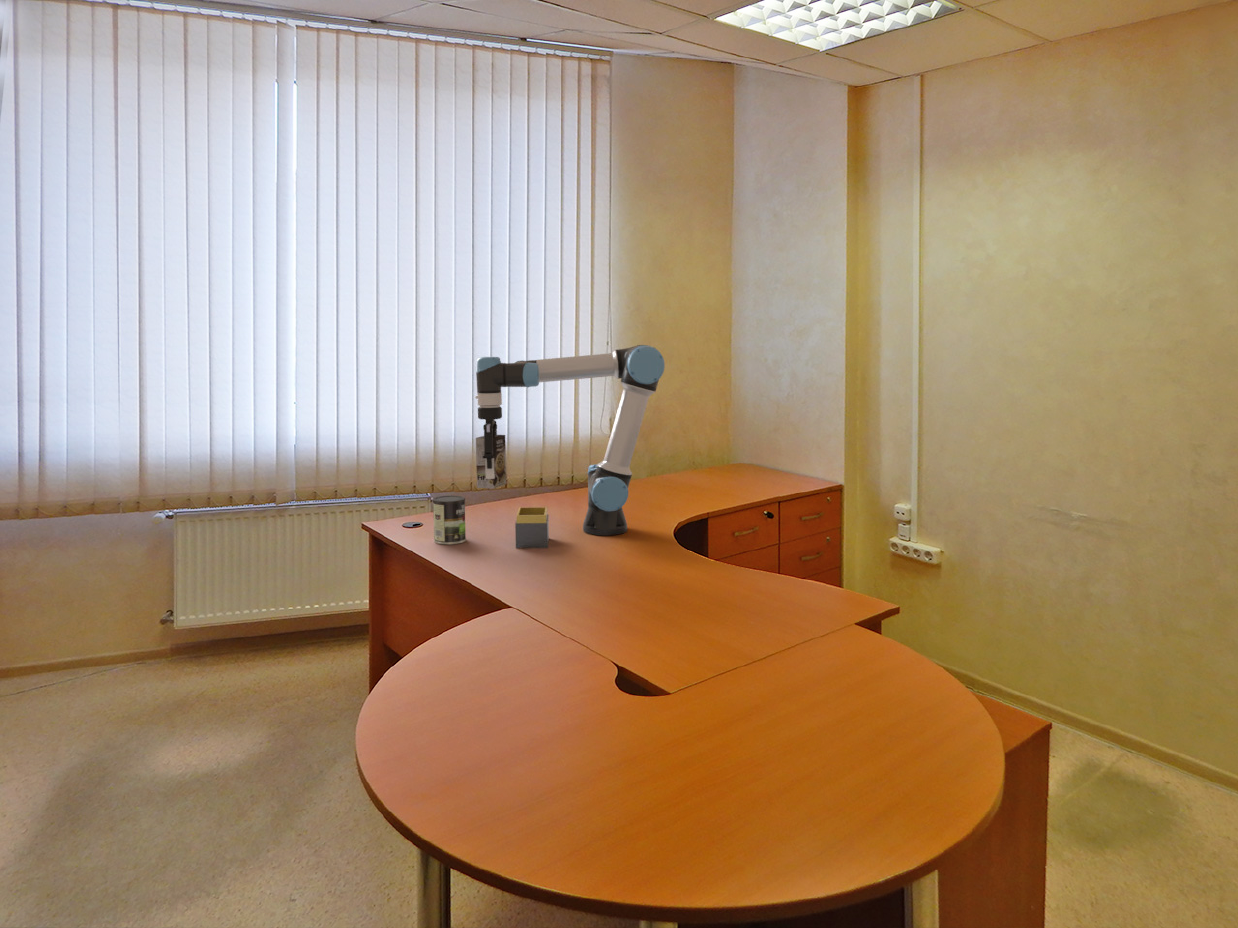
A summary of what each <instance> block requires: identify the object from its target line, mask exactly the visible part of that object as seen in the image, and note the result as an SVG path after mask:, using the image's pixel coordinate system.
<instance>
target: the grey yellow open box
mask: <svg viewBox="0 0 1238 928" xmlns="http://www.w3.org/2000/svg"><path fill="white" fill-rule="evenodd" d="M549 522H550V519H549V514H548V506H529V507H528V506H524V507H523V506H522V507H521V506H520V507H518V510H517V513H516V520H515V524H514V526H515V527H514V529H515V530H514V531H515V549H548V545H549V539H550V538H549V537H550V533H549V532H550V530H549V529H550V527H549Z"/></svg>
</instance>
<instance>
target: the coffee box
mask: <svg viewBox="0 0 1238 928" xmlns="http://www.w3.org/2000/svg"><path fill="white" fill-rule="evenodd" d="M506 451H507V450H506V434H497V435H495V437H494V438H493V456H494V457H493V458H494V474H495V479H486V473H485V458H483V456H484V435H482V436H477V437H475V458H476V462H475V464H476V466H475V467H476V488H478V489H490V490H494V489H497V488H500V487H502V486H504V485H507V484H508V483H507V460H506V459H507V453H506Z"/></svg>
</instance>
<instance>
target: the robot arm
mask: <svg viewBox="0 0 1238 928" xmlns="http://www.w3.org/2000/svg"><path fill="white" fill-rule="evenodd" d="M665 365H666V364H665V360H664V357H663V355H662V353H661V351H660V350H658V349H657V348H656V347H654V346H651V345H646V344H637V345H634V346H630V347H626V348H619V349H613V351H612V352H611V353H610V352H609V353H599V354H598V353H597V354H589V355H575V356H565V357H555V358H554V357H553V358H543V359H531V360H516V361H515V362H512V363H511V362H509V363H507V362H502V361H501V358H500V357H499V356H481V357H478V358H477V359H476V367H475V368H476V372H475V374H476V375H475V377H476V390H477V391H476V393H477V394H476V395H475V397H474V398H475V399H476V400H477V406H479V407H477V419H478V420H485V423H484V425H483V436H484V456H483V458H485V473H486V479H495V474H494V458H493V457H494V456H493V438H494V437H495V435H498V431H497V429H498V424H497V421H496V420H499V419H500V420H501V419H502V418H503V408H502V406H501V405H502V403H503V402H502V401H503V400H502V399H503V398H502V388H531V387H532V388H534V387H538V386H539V384H540V383H546V382H547V383H549V382H558V381H561V382H562V381H571V380H583V379H584V380H585V379H592V378H593V379H595V378H596V379H597V378H606V377H607V378H608V377H614V378H615V379H616V380H618V379H620V383H619V384H621V386H622V388H623V390H622V393H621V396H620V401H619V403H618V407H617V411H616V414H615V418H614V420H613V421H614V422H613V425H612V430H611V432H610V434H609V435H610V436H609V440H608V443H607V447H606V451H605V454H604V458H603V460H602V461H600V462H599V463H596V464H590V465H589V466H588V468H587V469H588V470H587V485H588V486H587V500H588V501H587V502H588V504H587V505H588V506H587V512H586V513H585V518H584V521H583V523H582V531H583V532H584V533H585V534H588V535H595V536H615V535H616V536H617V535H621V534H625V533H626V532H628V521H627V520H626V516H625V513H624V511H623V507H624V506H625V504H626V503H627V501H628V498H629V486H630V482H631V478H632V476H633V472H632V470H631V468H630V466H631V462H632V458H633V455H634V452H635V448H636V445H637V441H638V437H639V434H640V430H641V426H642V423H643V419H644V416H645V413H646V409H647V405H648V402H649V399H650V397H651V395H653V394H655V393H656V391H657V388H658V385H659V381H660V379H661V377H662V376H663V375H664V371H665V368H666V366H665Z"/></svg>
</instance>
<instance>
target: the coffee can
mask: <svg viewBox="0 0 1238 928" xmlns="http://www.w3.org/2000/svg"><path fill="white" fill-rule="evenodd" d="M432 506H433V507H432V509H433V511H432V513H433V535H434V536H433V537H434V541H433V542H434V543H435V544H438V545H458V544H461V543H464V542H466V541H467V539H466V538H467V537H466V535H467V534H466V497H464V496H461V495H441V496H436V497H434V498H432Z"/></svg>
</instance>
